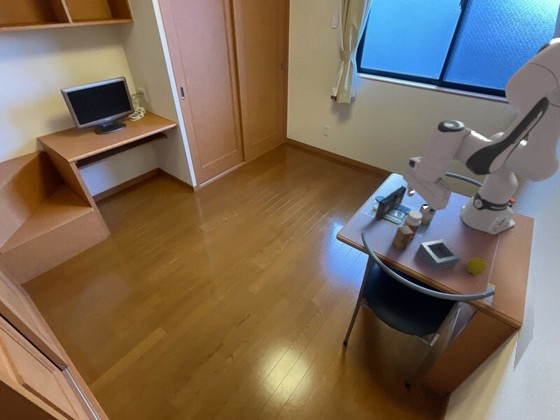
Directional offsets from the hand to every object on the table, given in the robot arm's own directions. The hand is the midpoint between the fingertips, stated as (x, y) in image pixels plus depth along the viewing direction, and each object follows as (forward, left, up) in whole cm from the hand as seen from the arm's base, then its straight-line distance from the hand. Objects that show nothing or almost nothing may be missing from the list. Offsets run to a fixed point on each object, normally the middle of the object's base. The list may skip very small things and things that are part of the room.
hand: (416, 203), depth 102 cm
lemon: (-20, +18, -24) cm, 36 cm away
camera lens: (-20, -12, -24) cm, 33 cm away
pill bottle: (-8, -6, -24) cm, 25 cm away
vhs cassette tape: (-7, -21, -24) cm, 33 cm away
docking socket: (-11, +9, -23) cm, 27 cm away
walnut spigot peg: (0, 0, -23) cm, 23 cm away
